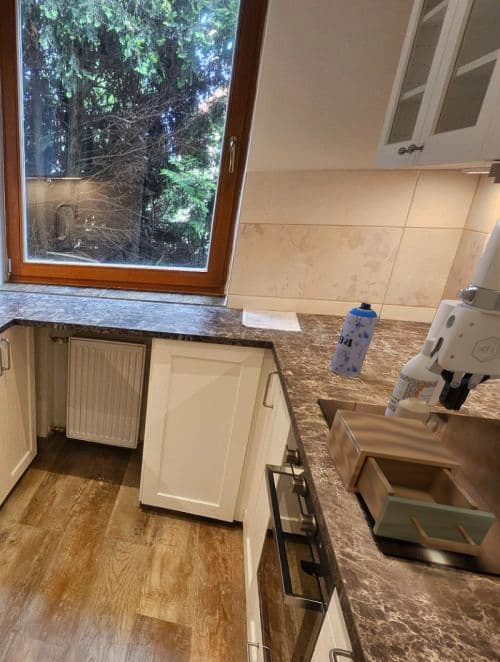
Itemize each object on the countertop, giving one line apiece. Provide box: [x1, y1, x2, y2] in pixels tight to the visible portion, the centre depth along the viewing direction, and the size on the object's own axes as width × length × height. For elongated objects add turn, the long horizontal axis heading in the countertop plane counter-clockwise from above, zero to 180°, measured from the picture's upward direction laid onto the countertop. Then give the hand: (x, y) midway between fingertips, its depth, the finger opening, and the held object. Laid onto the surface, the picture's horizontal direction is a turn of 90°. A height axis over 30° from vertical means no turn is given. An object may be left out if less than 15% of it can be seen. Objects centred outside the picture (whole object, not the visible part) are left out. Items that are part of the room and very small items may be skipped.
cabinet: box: [325, 409, 461, 494], centre depth 89 cm, size 16×15×9 cm
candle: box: [393, 397, 432, 426], centre depth 99 cm, size 6×6×10 cm
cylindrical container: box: [426, 299, 463, 406], centre depth 115 cm, size 7×7×25 cm
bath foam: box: [384, 336, 440, 417], centre depth 106 cm, size 7×7×20 cm
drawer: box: [355, 455, 496, 557], centre depth 75 cm, size 20×14×7 cm
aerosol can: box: [328, 302, 379, 378], centre depth 131 cm, size 8×8×20 cm
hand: (448, 406), depth 79 cm, fingers closed
